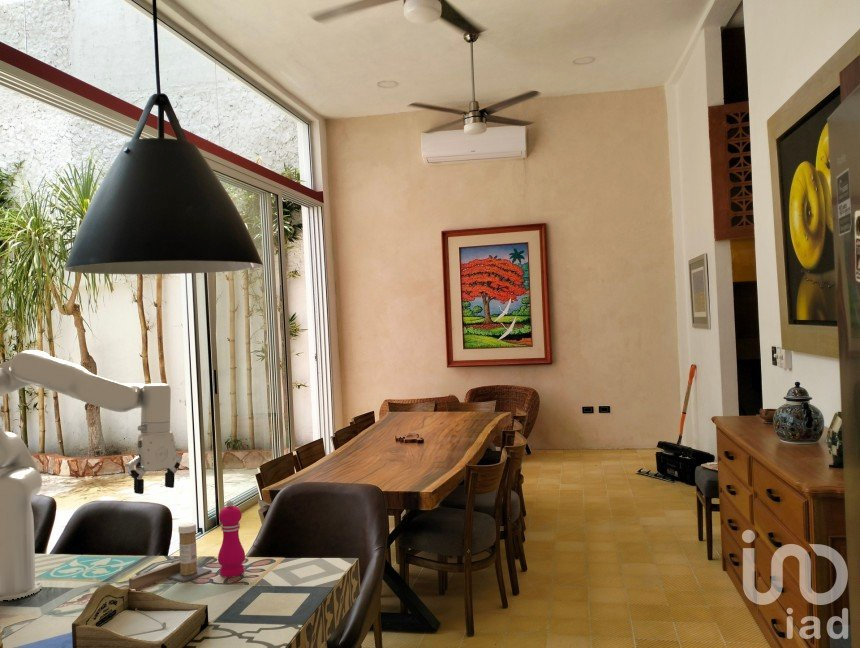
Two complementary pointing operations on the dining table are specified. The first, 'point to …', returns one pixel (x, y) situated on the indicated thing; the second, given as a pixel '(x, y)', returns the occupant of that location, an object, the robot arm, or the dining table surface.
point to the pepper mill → (231, 542)
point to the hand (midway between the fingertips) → (154, 490)
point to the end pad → (189, 577)
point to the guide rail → (154, 575)
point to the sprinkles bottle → (187, 548)
